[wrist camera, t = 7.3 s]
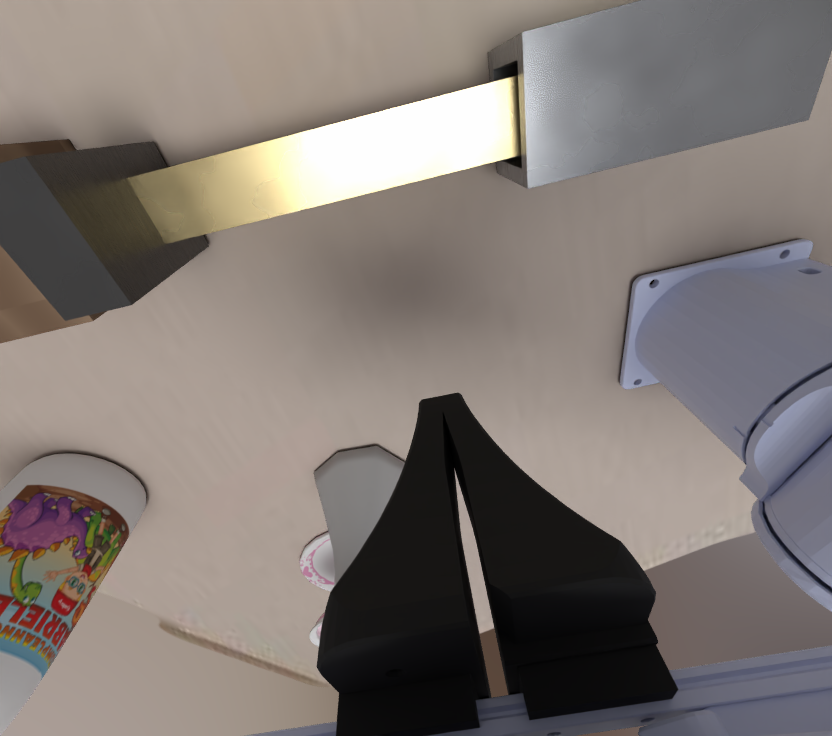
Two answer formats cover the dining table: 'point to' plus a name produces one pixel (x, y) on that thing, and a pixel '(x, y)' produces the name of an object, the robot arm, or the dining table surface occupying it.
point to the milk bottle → (55, 559)
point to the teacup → (319, 572)
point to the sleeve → (659, 80)
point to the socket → (9, 286)
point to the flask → (355, 498)
